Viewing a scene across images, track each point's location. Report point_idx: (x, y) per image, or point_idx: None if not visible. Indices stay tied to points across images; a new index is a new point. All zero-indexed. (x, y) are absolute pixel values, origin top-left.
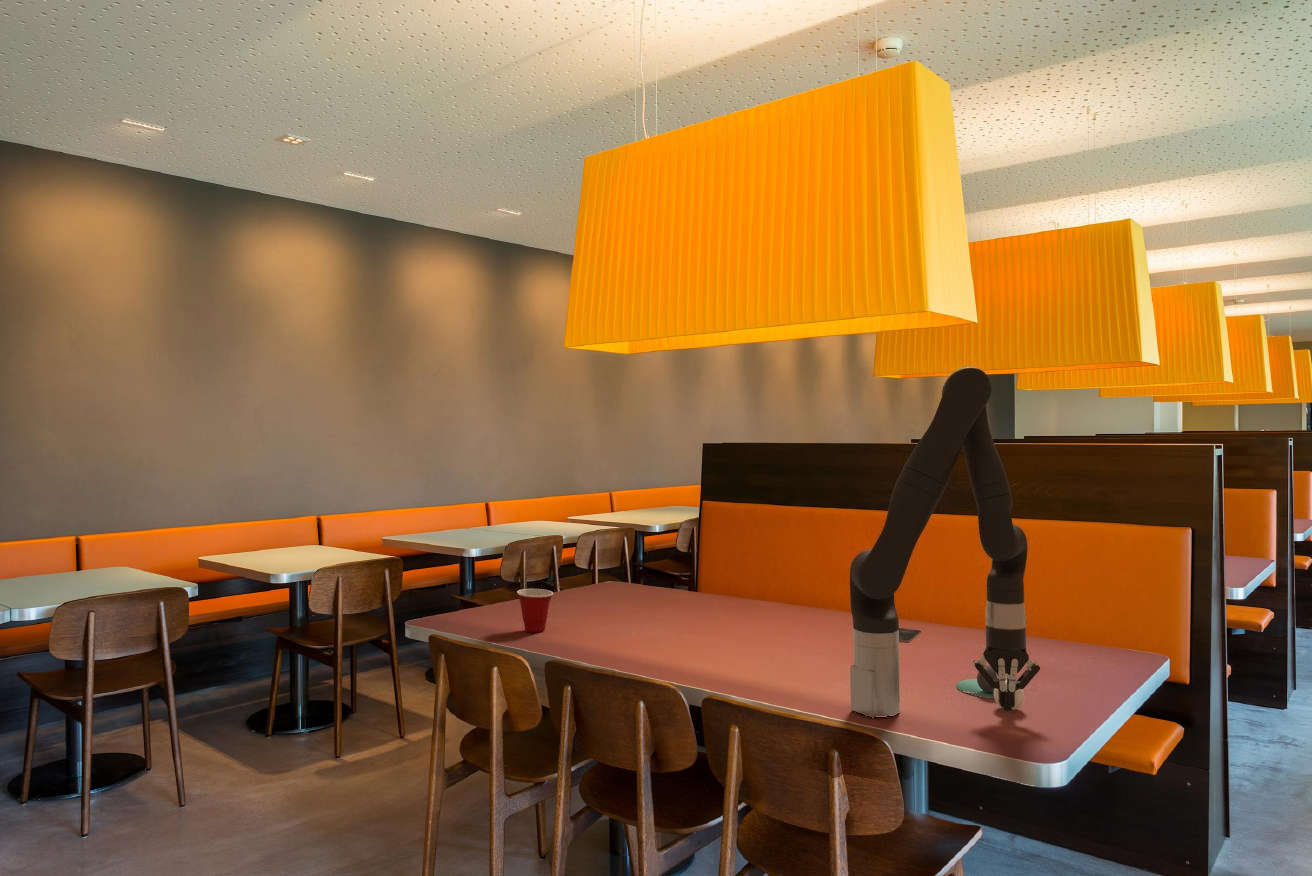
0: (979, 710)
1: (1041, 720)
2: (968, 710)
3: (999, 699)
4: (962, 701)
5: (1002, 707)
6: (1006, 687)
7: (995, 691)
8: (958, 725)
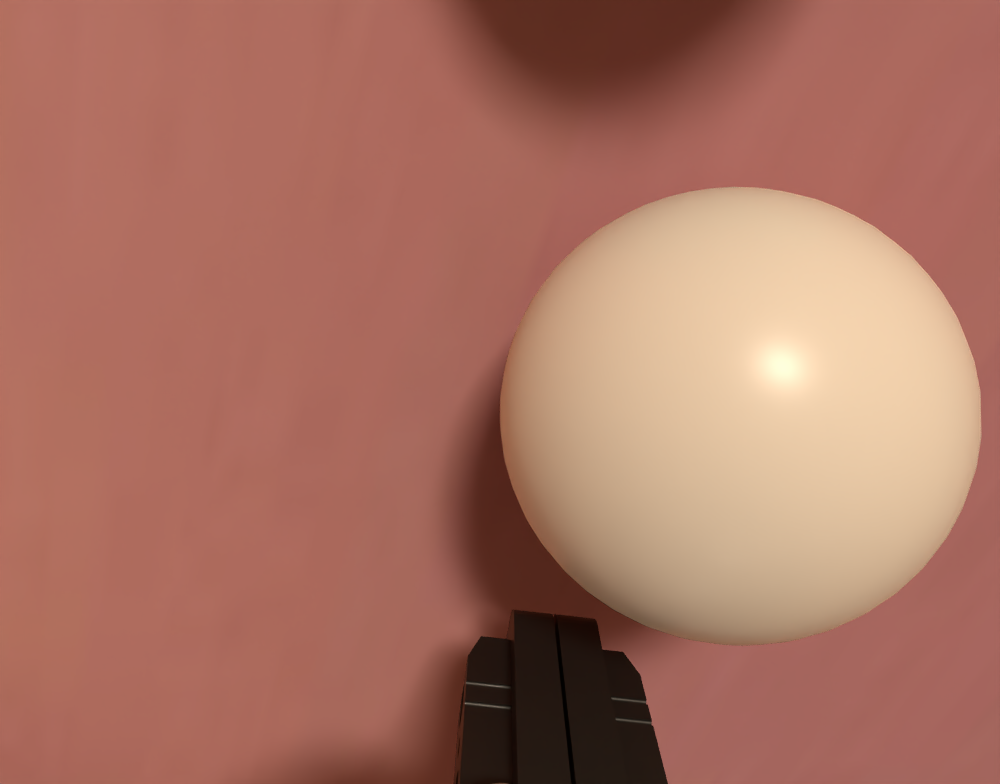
0: (321, 390)
1: (834, 646)
2: (199, 393)
3: (459, 739)
4: (171, 38)
5: (509, 626)
6: (657, 627)
7: (510, 466)
8: (58, 762)
